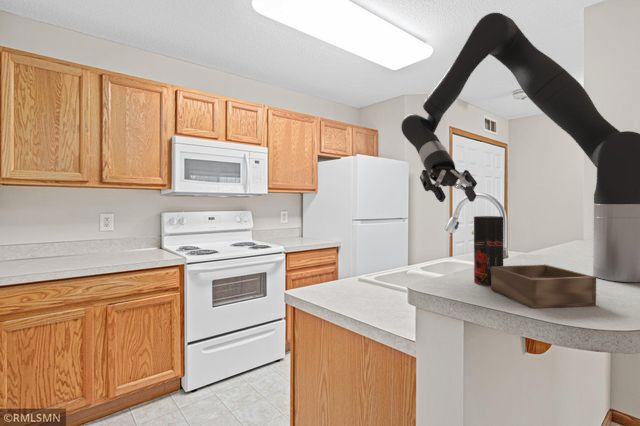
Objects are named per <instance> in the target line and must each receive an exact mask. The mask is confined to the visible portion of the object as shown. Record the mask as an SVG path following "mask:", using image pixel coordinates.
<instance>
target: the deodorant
mask: <svg viewBox="0 0 640 426" xmlns="http://www.w3.org/2000/svg"><path fill="white" fill-rule="evenodd" d="M494 266H504V216H497V215H496V216H493V215H490V216H489V215H480V216H473V270H474V271H473V283H475V284H476V285H479V286H485V287H491V267H494Z"/></svg>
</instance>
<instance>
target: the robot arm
mask: <svg viewBox="0 0 640 426" xmlns="http://www.w3.org/2000/svg"><path fill="white" fill-rule="evenodd" d="M489 55H490V56H492V57H493V58H495V59H496V60H497V61H499V62H500V63H501V64H502V65H503V66H504V67H506V68H507V69H508V70H509V71H510V72H511V74H512V75H513V76H514V79H515V80H516V81H517V83H518V84H519V86H520V88H521V90H522V91H523V92H524V94H525V95H526V97H527V98H528V99H529V100H530V101H531V102H532V103H533V104H534V105H535V106H536V107H537V108H538V109H539V110H540V111H542V113H543V114H545V116H547V117H548V118H549V119H550V120H551V121H552V122H554V124H556V125H557V126H558V127H559V128H560V129H561V130H563V131H564V132H565V133H566V134H568V135H569V136H570V137H571V138H572V140H574V141H575V142H576V144H577V145H578V146H579V147H580V149H581V150H582V151H583V153H585V155H586V156H587V158H588V159H589V160H590V161H591V163H592V165H594V166H595V168H596V185H595V189H594V193H593V249H592V250H593V253H592V254H593V255H592V257H593V259H592V260H593V261H592V262H593V263H592V271H593V272H592V276H594V277H596V278H599V279H602V280H607V281H612V282H613V281H615V282H622V283H640V132H636V131H631V130H630V131H629V130H628V131H627V130H626V131H624V130H623V131H621V130H619V129H618V128H617V127H615V126H614V125H613V124H611V123H610V122H609V121H608V120H606V119H605V118H604V116H603V115H602V114H601V113H600V112H599V110H598V109H597V108H596V106H595V104H594V102H593V101H592V99H591V97H590V95H589V94H588V92H587V91H586V89H585V88H584V87H583V86H582V84H581V83H580V82H579V81H578V80H577V79H576V78H574V77H573V75H571V74H570V72H569V71H567V70H566V69H565V68H564V67H563V66H561V65H560V64H559V63H558V62H556V61H555V60H554V59H552V58H551V57H549V56H548V55H547V54H545V53H544V52H543V51H541V50H539V49H538V48H537V47H536V46H534V45H533V43H532V42H531V41H530V40H529V38H528V37H527V36H526V35H525V34H524V32H522V30H521V29H520V27H518V25H517V24H516V22H515V21H514V20H513V19H512V18H511V17H509V16H507V15H505V14H503V13H500V12H490V13H487V14H486V15H484V16H482V17H481V18H480V19H479V20H478V21H477V23H476V24H475V26H474V27H473V29H472V30H471V31H470V34H469V35H468V37H467V39H466V41H465V42H464V44H463V46H462V48H461V49H460V51H459V53H458V55H457V56H456V57H455V59H454V60H453V62H452V64H451V66H450V67H449V68H448V70H447V71H446V72H445V74H444V76H443V77H442V78H441V79H440V81H439V82H438V84H437V85H436V86H435V87H434V89H433V90H432V91H431V92H430V94H429V95H428V96H427V98H426V99H425V100H424V101H423V104H422V108H423V110H424V111H425V112H426V113H427V114H428V115H427V116H426V117H423V116H421V115H418V114H417V113H409V114H407V115H406V116H405V117H403V120H402V122H401V127H400V128H401V132H402V134H403V136H404V137H405V138H406V139H407V141H408V142H409V143H410V144H411V145H412V146H413V147H414V148H415V150H416V152H417V154H418V156H419V158H420V162H421V163H422V165H423V167H424V169H422V171H421V173H420V175H419V179H420V182H421V184H422V186H423V189H424V191H426V192H432V193H433V194H434V196H435V198H436V200H438V201H439V202H440V203H444V202H445V199H446V194H445V192H444V190H443V188H442V187H453V188H455V189H456V190H462V192H464V194H465V196H466V198H467V200H468V201H469V202H471V203H472V202H473V203H474V202H475V199H476V197H477V193H476V192H475V188H476V187H477V185H478V182H477V181H476V179H475V178H474V177H473V175H472V174H471V173H470V172H469V170H468V169H464V171H462V172H460V171H458V170H457V169H456V165H455V162H454V160H453V158H452V157H451V155H450V153H449V152H448V150H447V148H446V147H445V146H444V145H443V144H442V142H441V140H440V139H439V138H438V136H437V135H436V133H435V132H436V130H437V128H438V126H439V124H440V122H441V120H442V118H443V116H444V114H445V113H446V112H447V110H448V109H449V108H450V107H451V106H452V105H453V103H455V102H456V100H457V98H459V96H460V94H461V93H462V91H463V89H464V88H465V85H466V84H467V82H468V80H469V78H470V77H471V75H472V74H473V72H474V71H475V70H476V69H477V67H478V66H479V65H480V64H481V63H482V62H483V61H484V60H485V59H486V58H487V57H488V56H489ZM458 180H459V183H457V182H458ZM432 181H434V183H433V182H432Z"/></svg>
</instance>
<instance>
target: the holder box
mask: <svg viewBox="0 0 640 426" xmlns="http://www.w3.org/2000/svg"><path fill="white" fill-rule="evenodd" d="M490 287H491V289H490V290H491V291H492V292H494V293H496V294H498V295H500V296H503V297H506V298H507V299H510V300H512V301H514V302H516V303H518V304H521V305H523V306H525V307H527V308H529V309H549V308H569V306H572V307H590V305H592V306H597V277H595V276H593V275H589V274H585V273H581V272H577V271H573V270H570V269H569V270H568V269H566V268H562V267H558V266H555V265H554V266H553V265H549V264H545V263H544V264H525V265H522V264H521V265H503V266H494V267H491V286H490Z"/></svg>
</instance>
